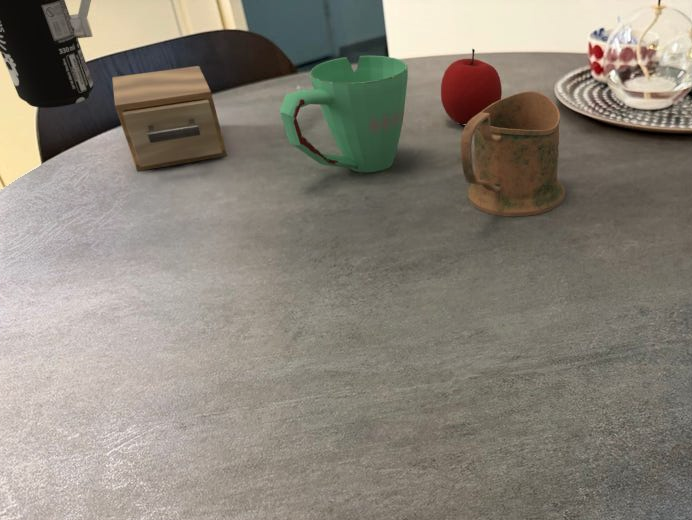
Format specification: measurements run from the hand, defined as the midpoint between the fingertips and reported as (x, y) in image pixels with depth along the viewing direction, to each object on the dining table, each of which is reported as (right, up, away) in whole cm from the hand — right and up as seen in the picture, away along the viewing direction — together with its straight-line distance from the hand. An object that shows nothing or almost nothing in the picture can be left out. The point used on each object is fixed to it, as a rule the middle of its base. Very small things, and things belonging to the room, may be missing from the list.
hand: (37, 41), depth 65 cm
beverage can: (0, -4, +3) cm, 5 cm away
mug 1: (+25, -5, +26) cm, 36 cm away
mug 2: (+44, -12, +17) cm, 48 cm away
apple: (+40, +6, +40) cm, 56 cm away
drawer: (0, -1, +31) cm, 31 cm away
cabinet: (-2, +1, +34) cm, 34 cm away
